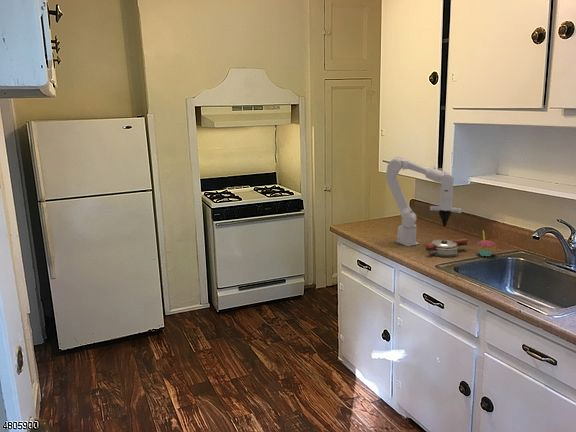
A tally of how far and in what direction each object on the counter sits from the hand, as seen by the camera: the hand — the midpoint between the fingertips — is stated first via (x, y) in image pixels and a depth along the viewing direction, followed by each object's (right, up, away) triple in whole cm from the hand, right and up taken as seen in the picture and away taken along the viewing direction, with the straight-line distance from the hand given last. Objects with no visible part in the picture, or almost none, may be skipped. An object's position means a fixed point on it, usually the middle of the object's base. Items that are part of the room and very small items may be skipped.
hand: (444, 225), depth 238 cm
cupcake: (+15, -14, -13) cm, 24 cm away
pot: (-2, -13, -8) cm, 15 cm away
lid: (-2, -9, -9) cm, 13 cm away
